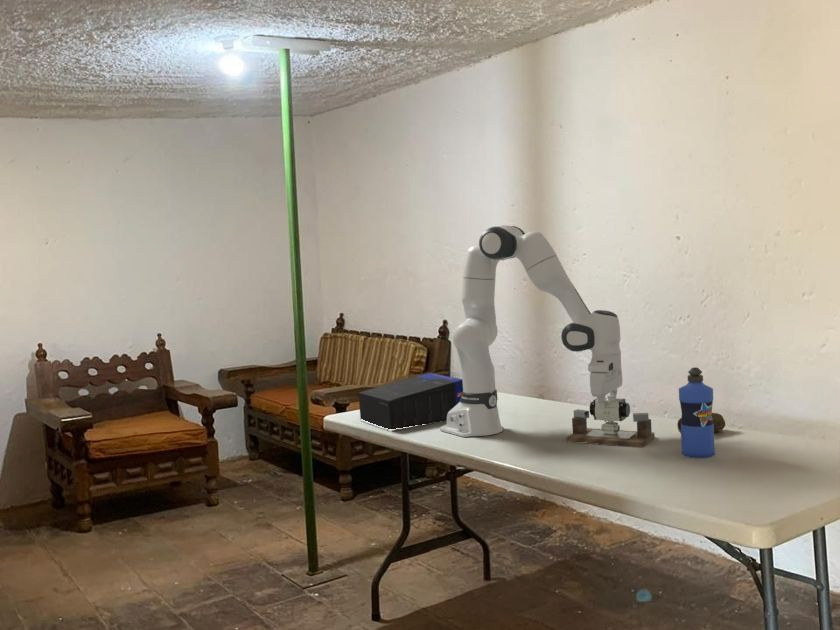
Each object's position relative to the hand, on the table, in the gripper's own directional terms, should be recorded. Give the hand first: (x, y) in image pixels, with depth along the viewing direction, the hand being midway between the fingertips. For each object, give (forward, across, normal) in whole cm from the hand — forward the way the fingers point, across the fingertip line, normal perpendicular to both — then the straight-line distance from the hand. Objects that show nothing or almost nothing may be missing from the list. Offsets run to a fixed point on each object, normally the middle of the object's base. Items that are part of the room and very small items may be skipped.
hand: (607, 405), depth 258 cm
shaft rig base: (+11, 0, +1) cm, 11 cm away
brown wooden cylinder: (+11, -15, +25) cm, 31 cm away
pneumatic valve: (+9, 0, 0) cm, 9 cm away
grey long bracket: (+9, 0, +1) cm, 9 cm away
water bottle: (+11, +9, +29) cm, 32 cm away
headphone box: (+13, -11, -78) cm, 80 cm away
